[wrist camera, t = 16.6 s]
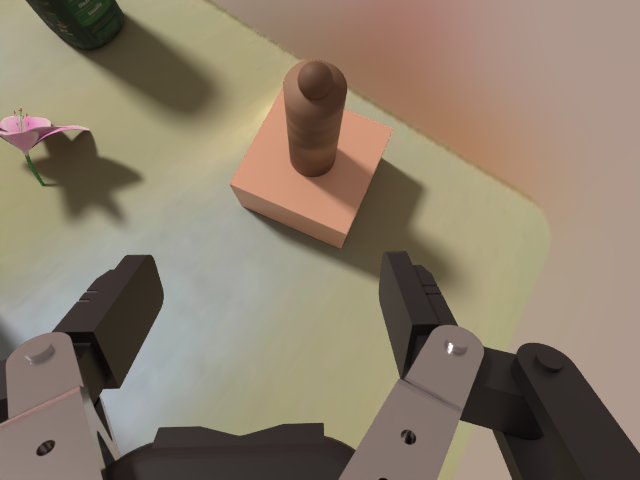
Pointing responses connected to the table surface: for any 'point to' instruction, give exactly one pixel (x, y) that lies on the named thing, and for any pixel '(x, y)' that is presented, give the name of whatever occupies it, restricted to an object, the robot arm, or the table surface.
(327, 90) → the pepper mill
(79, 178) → the table surface
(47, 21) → the coffee jar
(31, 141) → the lily
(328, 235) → the riser block
